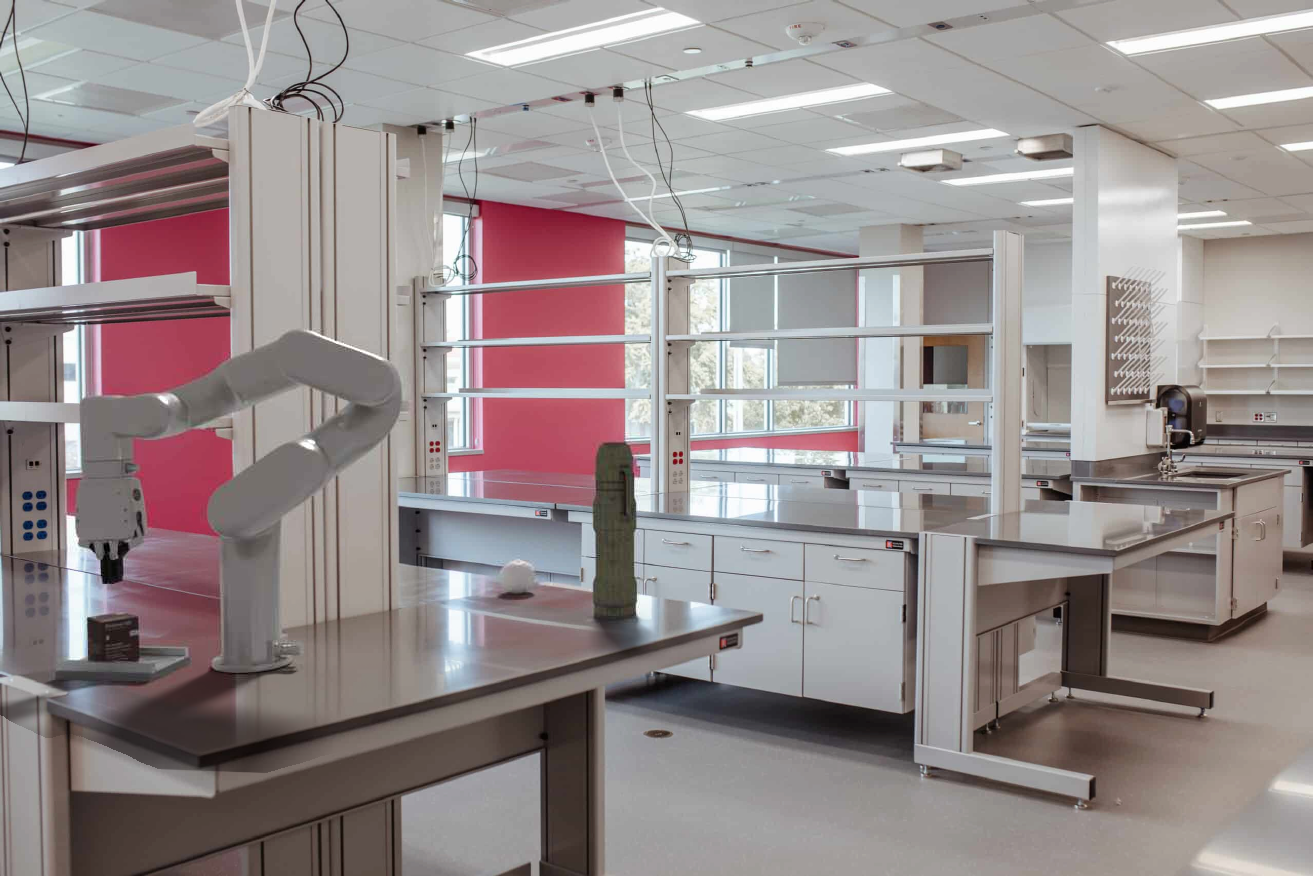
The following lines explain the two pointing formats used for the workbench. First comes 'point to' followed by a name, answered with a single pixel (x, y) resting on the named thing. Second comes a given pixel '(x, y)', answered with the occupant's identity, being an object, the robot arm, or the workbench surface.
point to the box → (113, 637)
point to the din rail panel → (126, 666)
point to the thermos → (614, 533)
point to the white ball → (517, 576)
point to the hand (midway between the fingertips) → (112, 582)
